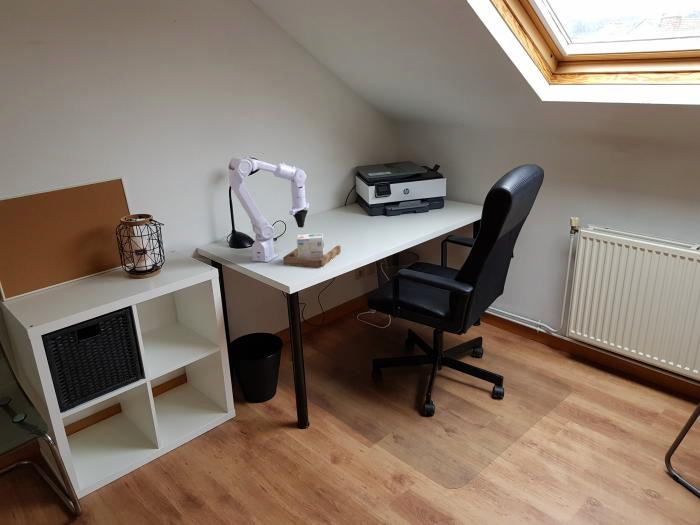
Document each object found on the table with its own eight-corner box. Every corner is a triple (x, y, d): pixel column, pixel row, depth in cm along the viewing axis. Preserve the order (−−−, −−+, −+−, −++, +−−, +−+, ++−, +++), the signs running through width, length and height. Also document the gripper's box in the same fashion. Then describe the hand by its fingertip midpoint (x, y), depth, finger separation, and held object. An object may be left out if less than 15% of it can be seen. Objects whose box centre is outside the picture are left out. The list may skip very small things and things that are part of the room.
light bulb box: (325, 257, 244) (323, 232, 240) (324, 262, 238) (322, 237, 234) (299, 258, 244) (297, 233, 240) (298, 263, 238) (296, 238, 234)
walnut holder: (321, 267, 231) (321, 260, 230) (283, 264, 238) (283, 257, 237) (340, 252, 249) (340, 245, 248) (305, 249, 255) (304, 242, 254)
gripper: (298, 200, 239) (301, 232, 243) (314, 193, 251) (316, 223, 256) (283, 199, 242) (286, 231, 246) (300, 192, 254) (302, 222, 259)
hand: (300, 227), depth 251 cm, fingers closed
